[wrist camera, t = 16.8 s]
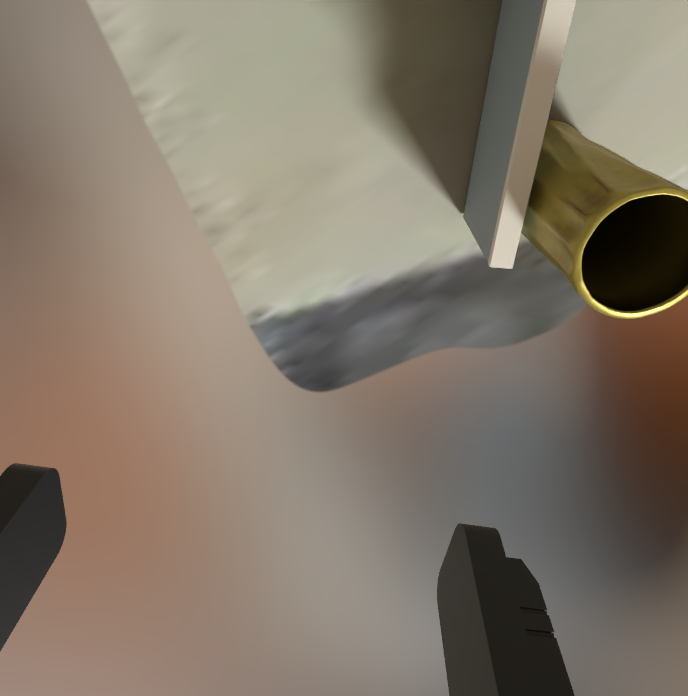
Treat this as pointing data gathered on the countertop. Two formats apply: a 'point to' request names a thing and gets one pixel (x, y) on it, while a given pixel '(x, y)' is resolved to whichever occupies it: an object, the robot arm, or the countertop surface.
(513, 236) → the grey flat panel
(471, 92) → the countertop surface
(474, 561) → the robot arm
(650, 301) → the vase
